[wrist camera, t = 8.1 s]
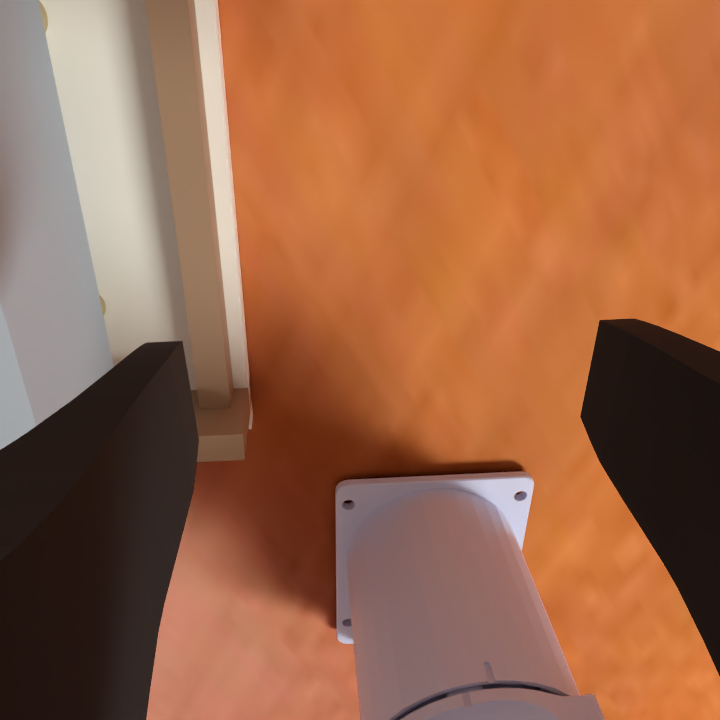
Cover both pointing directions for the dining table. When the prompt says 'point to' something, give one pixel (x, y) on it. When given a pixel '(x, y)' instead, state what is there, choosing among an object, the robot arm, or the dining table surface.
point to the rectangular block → (40, 241)
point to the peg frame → (159, 190)
